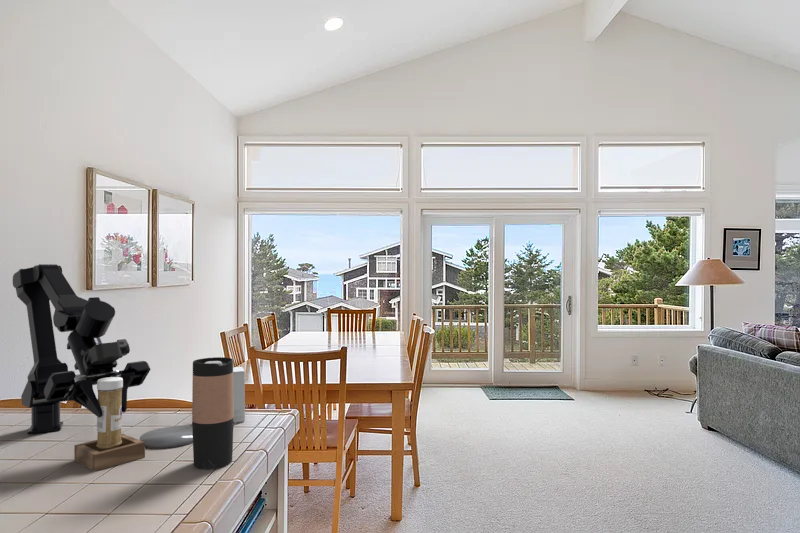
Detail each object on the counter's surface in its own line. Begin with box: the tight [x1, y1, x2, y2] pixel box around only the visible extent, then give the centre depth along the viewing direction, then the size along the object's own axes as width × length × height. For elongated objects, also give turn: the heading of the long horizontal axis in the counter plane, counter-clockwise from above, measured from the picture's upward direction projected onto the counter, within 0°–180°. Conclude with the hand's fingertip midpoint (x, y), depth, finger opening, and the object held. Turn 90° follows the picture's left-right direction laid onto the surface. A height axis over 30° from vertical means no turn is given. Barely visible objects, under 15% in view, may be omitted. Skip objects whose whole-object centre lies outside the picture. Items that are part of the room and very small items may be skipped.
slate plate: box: [139, 425, 193, 449], centre depth 120 cm, size 13×13×1 cm
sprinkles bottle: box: [96, 377, 123, 449], centre depth 107 cm, size 5×5×14 cm
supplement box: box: [233, 366, 246, 423], centre depth 135 cm, size 7×7×13 cm
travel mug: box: [191, 356, 234, 470], centre depth 105 cm, size 8×8×20 cm
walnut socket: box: [73, 433, 146, 472], centre depth 107 cm, size 9×9×3 cm
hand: (113, 413), depth 106 cm, fingers closed on sprinkles bottle, 4 cm apart
